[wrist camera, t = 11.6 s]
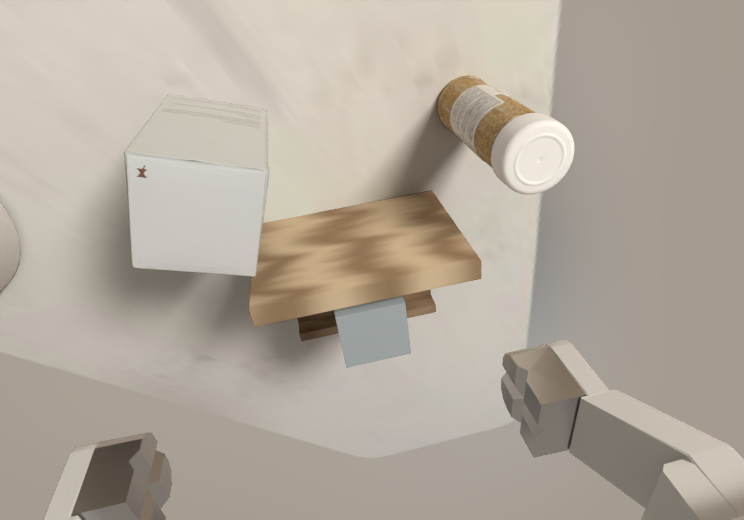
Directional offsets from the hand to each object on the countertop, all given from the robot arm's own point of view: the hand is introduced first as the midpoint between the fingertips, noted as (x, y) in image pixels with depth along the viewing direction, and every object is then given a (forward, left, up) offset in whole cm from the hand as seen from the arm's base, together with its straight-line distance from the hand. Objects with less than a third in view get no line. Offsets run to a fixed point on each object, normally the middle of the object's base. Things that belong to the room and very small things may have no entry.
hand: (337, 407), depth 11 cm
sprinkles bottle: (+13, -3, -30) cm, 33 cm away
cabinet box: (+2, -15, -25) cm, 29 cm away
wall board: (+2, -14, -30) cm, 33 cm away
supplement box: (-7, -3, -30) cm, 31 cm away
